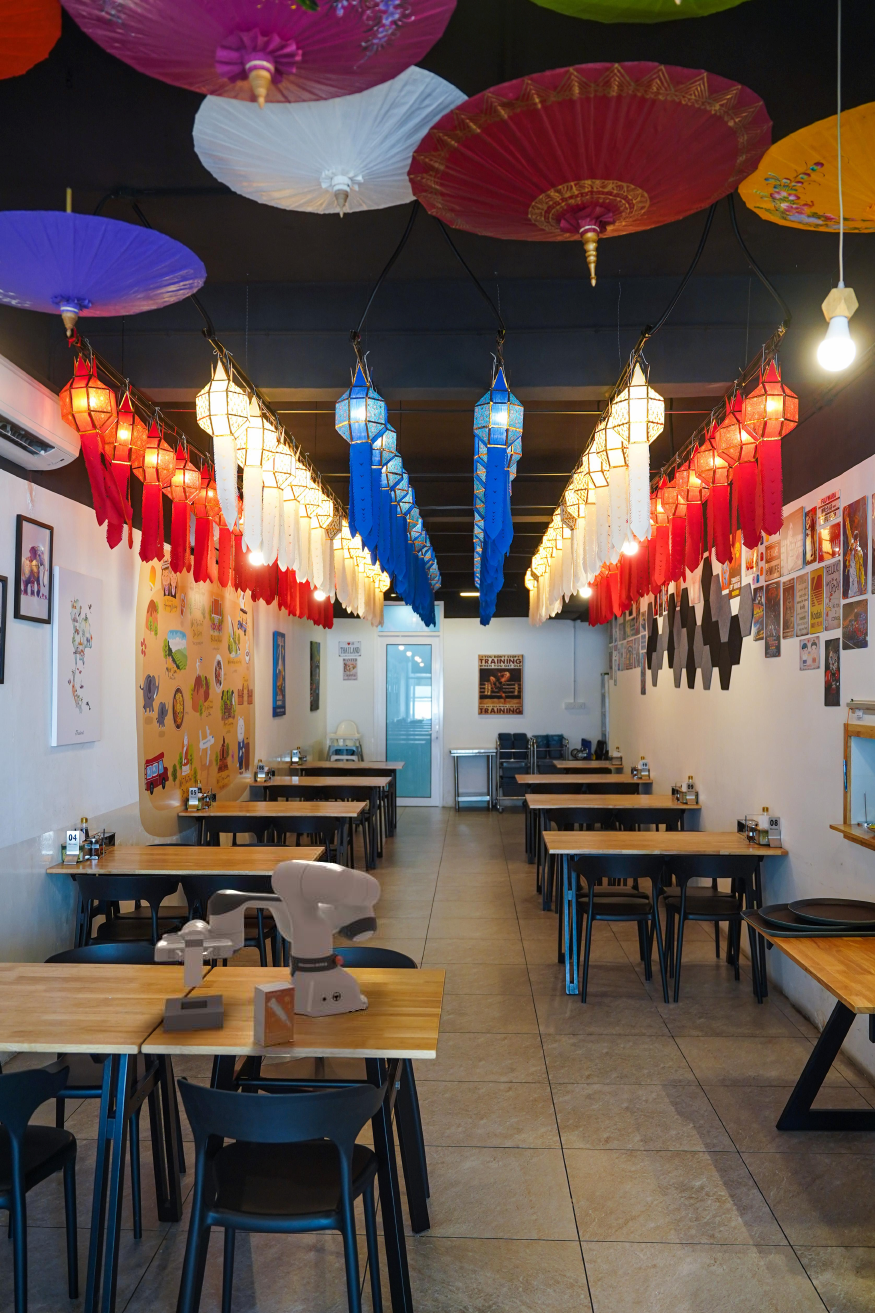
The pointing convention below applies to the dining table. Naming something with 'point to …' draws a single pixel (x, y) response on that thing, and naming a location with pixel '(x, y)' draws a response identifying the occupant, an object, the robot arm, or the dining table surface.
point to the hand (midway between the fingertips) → (193, 957)
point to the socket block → (193, 1013)
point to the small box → (274, 1013)
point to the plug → (193, 961)
